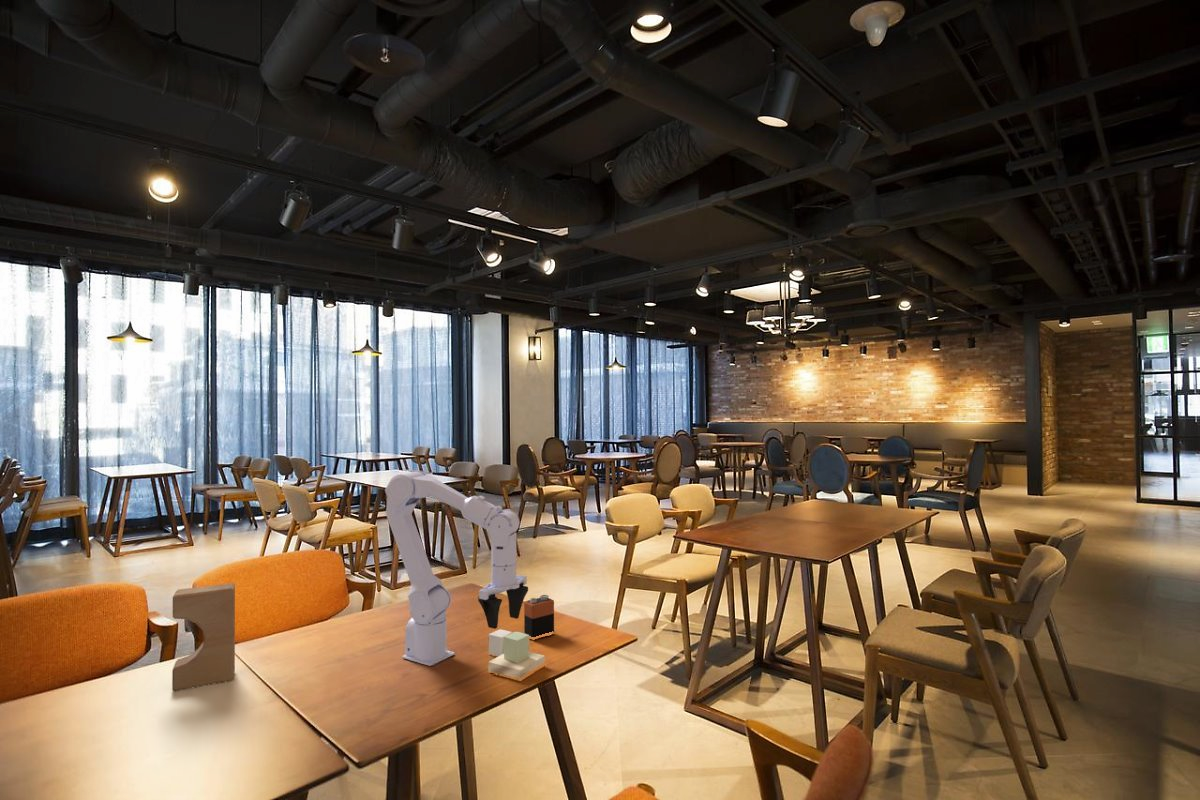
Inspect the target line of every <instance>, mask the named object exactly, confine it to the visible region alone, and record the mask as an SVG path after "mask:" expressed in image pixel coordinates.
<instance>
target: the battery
mask: <svg viewBox="0 0 1200 800" xmlns="http://www.w3.org/2000/svg"><path fill="white" fill-rule="evenodd" d="M549 596H550V595H547V594H541V595H540V596H539V597H537V598H535V597H532V598H530V599H529V600H526V601H523V602H524V603H523V604H524V606H523V607H524V608H523V609H524V613H523V614H524V615H523V616H524V617H523V618H524V621H523V622H524V624H523V625H524V627H523V628H524V630H523V631H524V632H523V633H525V634H528V635H529V636H531V637H536V636H539V635H542V634H545V633H549V632H552V631H554V632H555V600H554V599H552V598H549Z"/></svg>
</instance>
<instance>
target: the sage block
mask: <svg viewBox="0 0 1200 800" xmlns="http://www.w3.org/2000/svg"><path fill="white" fill-rule="evenodd" d="M529 652H530V639H529V635H528V634H524V632H520V631H514V632H513V633H511V634H509V635H507V636H505V637H504V659H505V660H509V661H512V662H515V663H519V662H521V661H523V660H525V659H526V658H528V657H529Z"/></svg>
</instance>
